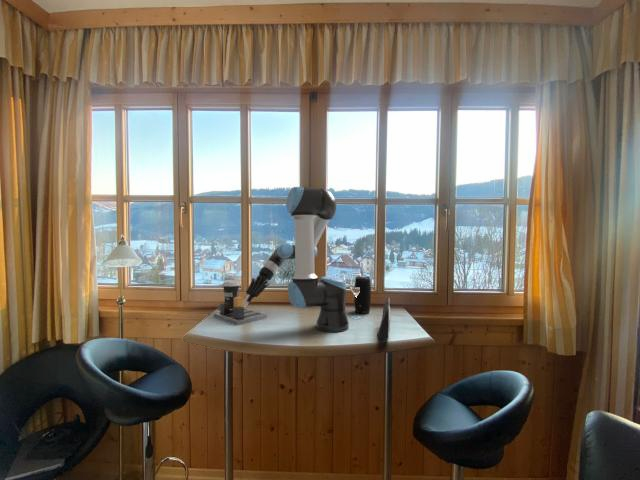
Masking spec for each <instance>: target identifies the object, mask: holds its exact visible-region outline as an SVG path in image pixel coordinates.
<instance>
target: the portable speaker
mask: <svg viewBox="0 0 640 480" xmlns="http://www.w3.org/2000/svg"><path fill="white" fill-rule="evenodd" d="M371 286H372V285H371V277H370V276H360V275H358V276H355V280H354V288H355V287H360V293H359V295H358V296H357V298H356V297H355V295H354V300H353V303H354V312H356V313H355V314H359V313H360V314H362V315H367V313H368V314H369V313H370V311H371V310H370V309H371V301H372V299H371V298H372V287H371Z"/></svg>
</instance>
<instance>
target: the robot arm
mask: <svg viewBox="0 0 640 480" xmlns="http://www.w3.org/2000/svg"><path fill="white" fill-rule="evenodd" d="M336 201H337V200H336V198H335V196H334V194H333V193H332V192H331V191H330V190H328V189H326V188H323V187H310V186H294V187H292V188H290V190H289V192H288V194H287V197H286V203H285V204H286V205H285V207H286V211H287V212H288V213H289V214H290V218H291V219H292V220H293V221H294V245H293V244H290V243H288V242H284V243H282V244H280V245H279V246H277V247H276V248H275V249H274V251H273V252H272V254H271V255H270V257H269V258H268V259H267V261H266V262H265V263H264V265H263V266H262V267H261V269H260V270H259V271H258V273H259V275H257V277H256V278H254V277H253V278H251V281H250V284H249V286H248V287H247V289H246V292H245V293H246V296H245V297H244V308H247V307H248V305H249V303H251V301H252V300H253V298H257V297H259V296H260V294H261V293H262V292H263V291H264V290H265V289H266V288H267V287H268V286H270V282H269V281H271V280H272V279H273V277H274V276H275V274H276V272H277V271H278V270H279V269H280V267H281V266H282V264H283V263H284V262H285V261H286V260H294V263H295V268H294V269H295V273H294V275H293V276H292V278H291V279H292V281H290V282H289V283H288V284H287V285H288V286H287V294H288V298H289V302H290V304H291V306H292V307H293V308H295V309H306V308H317V307H320V309H319V310H320V311H319V312H318V317H317V319H316V325H315V327H316V329H317V330H319V331H323V332H328V333H329V332H330V333H337V332H338V333H339V332H344V331H347V330H348V329H349V327H350V326H349V325H350V323H349V320H348V316H347V313H346V293H347V287H346V285H347V284H346V281H345V280H344V279H342V278H339V277H332V276H321V277H320V279H319V276H318V275H317V274H316V273H315V272H316V269H315V258H316V257H317V255H318V248H317V245H318V243H319V241H320V239H321V238H322V235H323V233H324V231H325V230H326V228H327V225H328V224H329V221H330V220H332V219H333V218H334V216H335V214H336V212H337V202H336Z"/></svg>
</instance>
